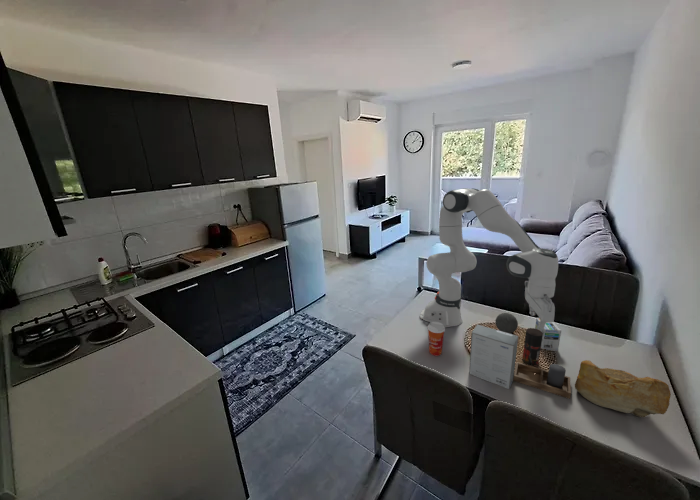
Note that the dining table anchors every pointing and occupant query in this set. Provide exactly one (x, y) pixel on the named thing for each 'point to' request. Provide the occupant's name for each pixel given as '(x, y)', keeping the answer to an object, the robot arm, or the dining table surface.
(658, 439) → the dining table surface
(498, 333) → the hard drive box
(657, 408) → the rough brown rock
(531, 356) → the deodorant
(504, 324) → the decorative ball
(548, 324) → the light bulb box
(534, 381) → the walnut rack
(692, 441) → the dining table surface
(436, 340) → the red and orange canister
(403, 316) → the dining table surface
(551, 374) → the black rubber plug
